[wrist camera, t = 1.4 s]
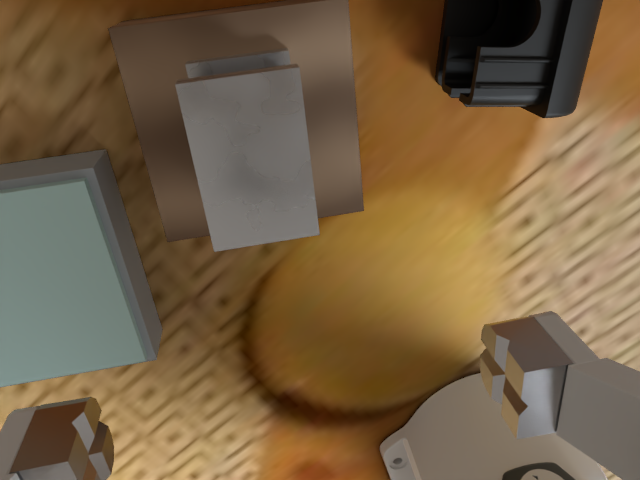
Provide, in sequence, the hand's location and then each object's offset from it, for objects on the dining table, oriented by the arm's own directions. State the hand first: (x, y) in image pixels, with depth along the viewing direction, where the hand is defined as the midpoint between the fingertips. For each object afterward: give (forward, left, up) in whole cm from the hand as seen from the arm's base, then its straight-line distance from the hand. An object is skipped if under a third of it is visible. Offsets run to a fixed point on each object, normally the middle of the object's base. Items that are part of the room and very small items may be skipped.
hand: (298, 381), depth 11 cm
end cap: (+4, -15, -25) cm, 29 cm away
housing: (0, +1, -20) cm, 20 cm away
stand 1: (-8, +17, -24) cm, 31 cm away
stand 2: (0, +1, -24) cm, 24 cm away
